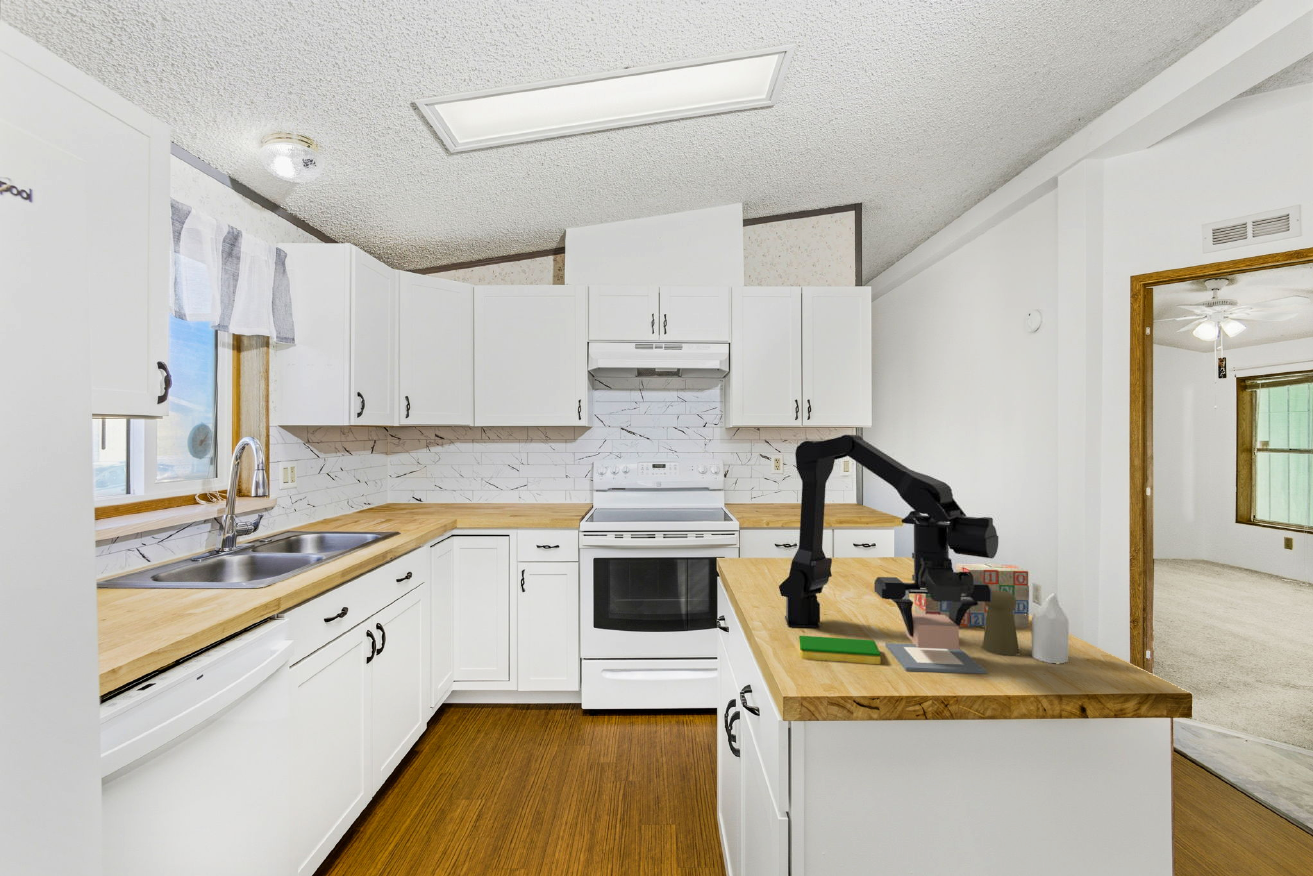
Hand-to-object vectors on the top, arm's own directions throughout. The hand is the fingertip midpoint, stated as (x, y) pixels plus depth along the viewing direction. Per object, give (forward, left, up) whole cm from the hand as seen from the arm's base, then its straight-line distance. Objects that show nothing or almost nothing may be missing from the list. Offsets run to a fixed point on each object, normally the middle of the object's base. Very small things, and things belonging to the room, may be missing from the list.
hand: (931, 636), depth 104 cm
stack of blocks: (+16, +23, -4) cm, 28 cm away
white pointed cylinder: (+21, +2, -4) cm, 22 cm away
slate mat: (0, 0, -4) cm, 4 cm away
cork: (+15, +6, -4) cm, 16 cm away
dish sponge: (-16, +1, -5) cm, 17 cm away
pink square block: (0, 0, -1) cm, 1 cm away
